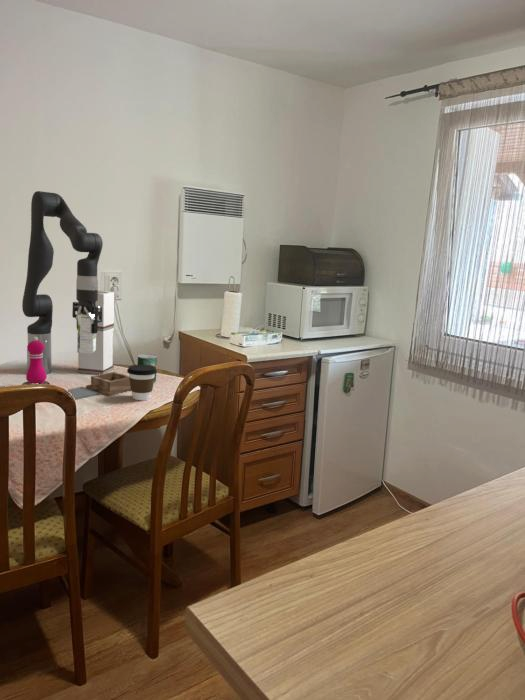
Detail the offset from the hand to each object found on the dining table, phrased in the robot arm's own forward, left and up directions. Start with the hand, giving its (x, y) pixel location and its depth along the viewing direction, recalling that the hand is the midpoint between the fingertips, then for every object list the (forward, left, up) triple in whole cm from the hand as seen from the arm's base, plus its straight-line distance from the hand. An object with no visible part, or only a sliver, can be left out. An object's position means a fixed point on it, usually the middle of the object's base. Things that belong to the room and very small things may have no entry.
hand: (87, 331), depth 199 cm
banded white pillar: (-25, +23, -24) cm, 41 cm away
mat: (-1, -4, -24) cm, 24 cm away
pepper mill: (-18, -10, -24) cm, 31 cm away
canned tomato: (+2, +28, -24) cm, 37 cm away
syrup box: (0, 0, -8) cm, 8 cm away
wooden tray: (+2, +10, -24) cm, 26 cm away
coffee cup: (+19, +10, -24) cm, 32 cm away
